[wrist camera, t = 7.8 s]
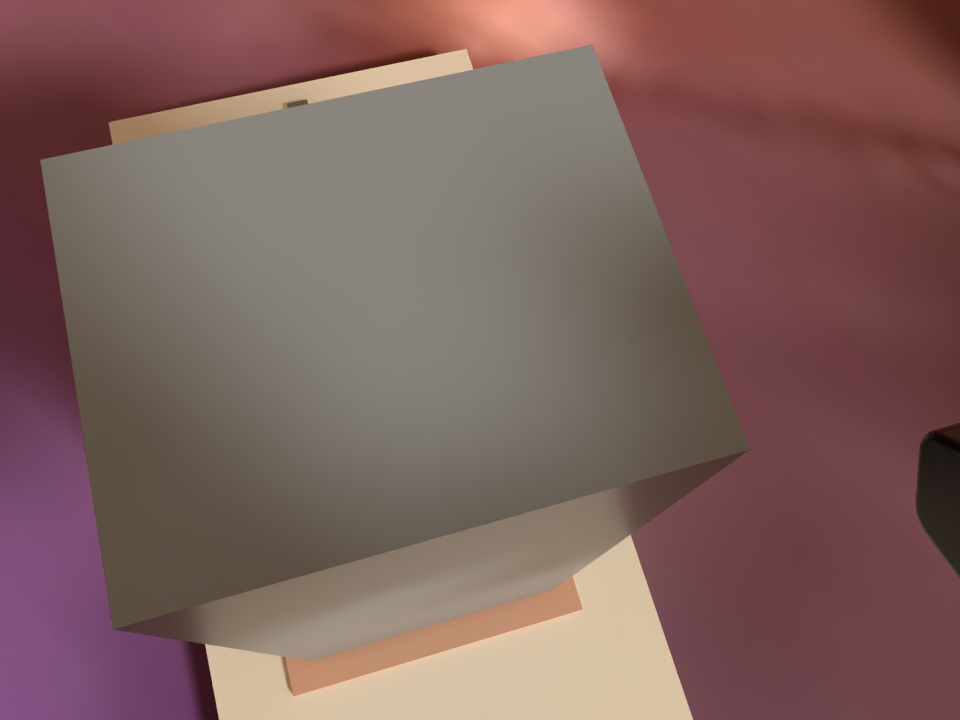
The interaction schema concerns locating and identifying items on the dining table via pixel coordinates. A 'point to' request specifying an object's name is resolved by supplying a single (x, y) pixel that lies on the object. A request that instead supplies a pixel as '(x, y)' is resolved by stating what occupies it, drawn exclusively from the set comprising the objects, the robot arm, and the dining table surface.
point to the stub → (377, 357)
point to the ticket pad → (475, 637)
